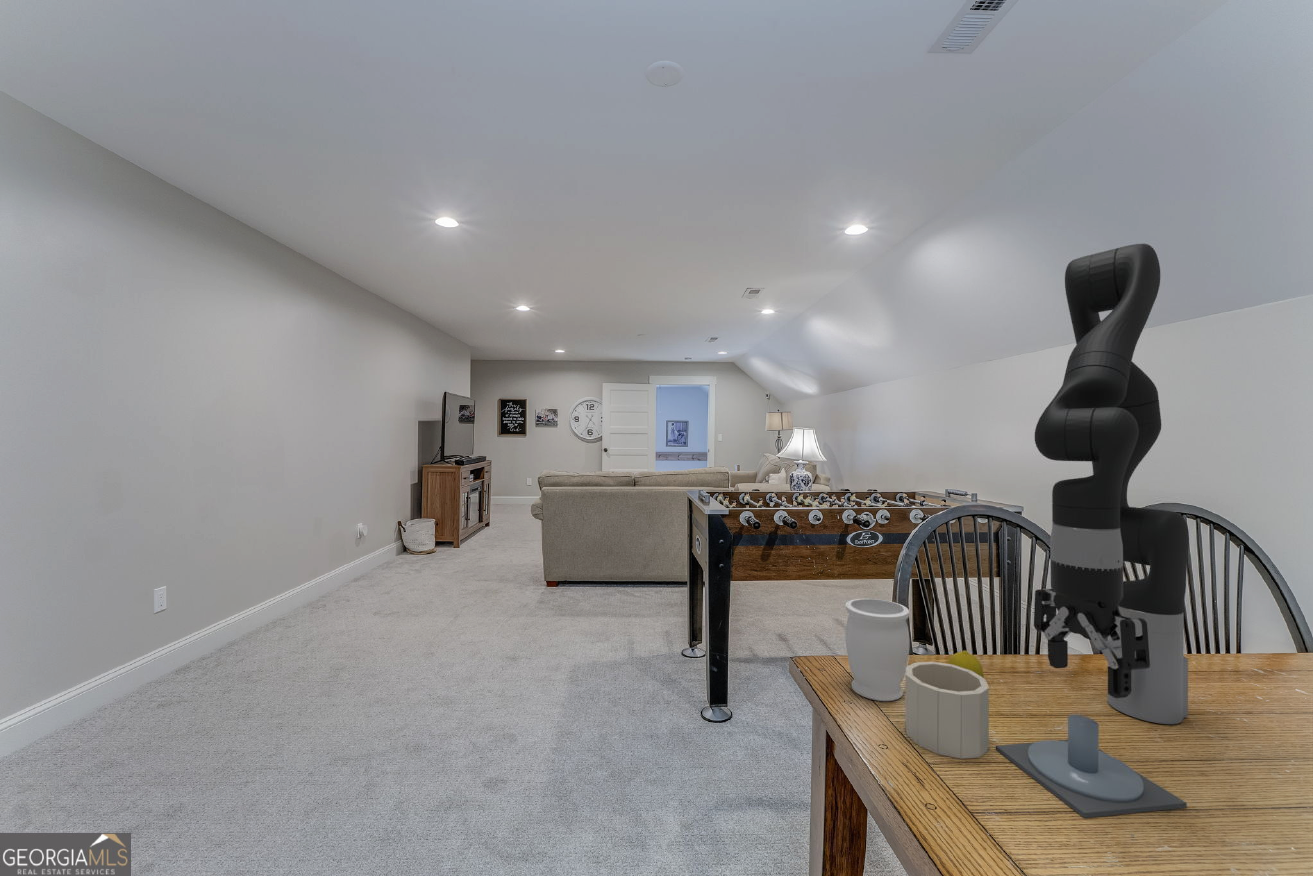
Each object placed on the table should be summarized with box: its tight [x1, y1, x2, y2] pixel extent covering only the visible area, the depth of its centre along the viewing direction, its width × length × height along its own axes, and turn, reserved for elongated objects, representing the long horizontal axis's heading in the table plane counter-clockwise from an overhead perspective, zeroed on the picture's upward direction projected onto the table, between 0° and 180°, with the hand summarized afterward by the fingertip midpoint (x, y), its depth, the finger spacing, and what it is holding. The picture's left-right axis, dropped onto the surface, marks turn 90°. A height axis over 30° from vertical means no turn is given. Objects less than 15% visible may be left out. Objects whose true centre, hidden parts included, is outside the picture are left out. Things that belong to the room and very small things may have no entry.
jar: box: [845, 598, 910, 702], centre depth 96 cm, size 11×10×15 cm
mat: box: [995, 739, 1188, 819], centre depth 72 cm, size 14×14×1 cm
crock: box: [904, 661, 990, 760], centre depth 81 cm, size 11×11×9 cm
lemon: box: [947, 650, 985, 679], centre depth 94 cm, size 6×6×8 cm
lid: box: [1028, 714, 1144, 803], centre depth 72 cm, size 12×12×7 cm
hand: (1086, 680), depth 72 cm, fingers open, 8 cm apart
